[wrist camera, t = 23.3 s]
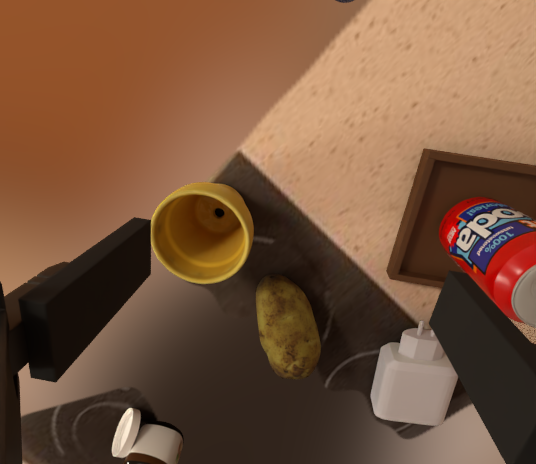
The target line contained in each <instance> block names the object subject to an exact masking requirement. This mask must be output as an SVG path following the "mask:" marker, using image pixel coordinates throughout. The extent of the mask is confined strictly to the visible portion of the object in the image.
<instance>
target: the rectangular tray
mask: <svg viewBox="0 0 536 464" xmlns="http://www.w3.org/2000/svg"><path fill="white" fill-rule="evenodd" d="M474 197H488V198H492V199H495V200H498V201H500V202H502V203H504V204H506V205H508V206H510V207H511V208H513V209H515V210H517V211H519V212H521V213H523V214H525V215H527V216H528V217H530V218H532V219H534V220H536V166H535V165H528V164H522V163H515V162H509V161H502V160H496V159H489V158H483V157H476V156H470V155H463V154H457V153H450V152H444V151H437V150H431V149H424V150H423V153H422V156H421V160H420V163H419V166H418V169H417V173H416V176H415V179H414V182H413V186H412V189H411V192H410V195H409V199H408V202H407V205H406V208H405V212H404V215H403V218H402V221H401V225H400V228H399V231H398V235H397V238H396V241H395V244H394V248H393V251H392V254H391V257H390V261H389V264H388V267H387V270H386V271H387V274H388V276H389V278H390V279H393V280H399V281H405V282H411V283H416V284H422V285H428V286H434V287H440V288H442V287H443V285H444V282H445V280H446V277H447V274H448V272H449V270H450V271H456V272H462V273H465V272H464V271H463V270H462V269H461V268H460V267H459V266H458V265H457V264H456V262H455V261H454V260H453V259H452V258H451V257H450V256H449V255H448V254H447V253H446V251H445V250H444V249H443V247H442V245H441V243H440V240H439V228H440V224H441V222H442V220H443V218H444V216H445V215H446V214H447V212H448V211H449V210H450V209H451V208H452V207H454V206H455V205H457V204H458V203H460V202H462V201H464V200H467V199H470V198H474Z"/></svg>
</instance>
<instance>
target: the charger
mask: <svg viewBox="0 0 536 464" xmlns="http://www.w3.org/2000/svg"><path fill="white" fill-rule="evenodd" d="M423 325H424V321H423V320H420V323H419V327H418V329H417V328H412V329H408V330H405V331H404V332H403V333H402V337H401V341H400V343H394V342H391V343H388V344H386V345H384V346H382V347H381V350H380V354H379V359H378V363H377V368H376V373H375V377H374V382H373V386H372V391H371V400H372V405H373V409H374V413H375V415H376V416H377V417H379V418H382V419H385V420H392V421H400V422H408V423H416V424H424V425H432V426H438V425H441V424H442V423H443V421H444V418H445V415H446V412H447V409H448V406H449V403H450V400H451V397H452V394H453V391H454V388H455V385H456V382H457V379H458V375H457V374H456V372H455V370H454V368H453V366H452V364H451V363H450V361H449V359H448V357H447V355H446V353H445V352H444V350H443V348H442V346H441V344H440V343H439V341H438V339H437V337H436V335H435V333H434V332H433V330H427V329H423Z"/></svg>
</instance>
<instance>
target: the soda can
mask: <svg viewBox="0 0 536 464" xmlns="http://www.w3.org/2000/svg"><path fill="white" fill-rule="evenodd" d="M439 240H440V243H441V245H442V247H443V249H444V250H445V251H446V253H447V254H448V255H449V256H450V257H451V258H452V259H453V260H454V261H455V262H456V264H457V265H458V266H459V267H460V268H461V269H462V270H463V271H464V272H465V273H467V274H468V275H469V276H470V277H471V278H472V279H473V280H474V281H475V282H476V284H477V285H478V286H479V287H480V288H481V289H482V290H483V291H484V292H485V293H486V294H487V296H488V297H489V298H490V299H491V300H492V301H493V302H494V303H495V304H496V305H497V306H498V307H499V309H500V310H501V311H502V312H503V313H504V314H505V315H506V316H507V317H509V318H510V319H512V320H514V321H517V322H520V323H524V324H527V325H529V326H531V327H534V328H536V220H534V219H532V218H530V217H528V216H527V215H525V214H523V213H521V212H519V211H517V210H515V209H513V208H511V207H510V206H508V205H506V204H504V203H502V202H500V201H498V200H495V199H492V198H488V197H474V198H470V199H467V200H464V201H462V202H460V203H458V204H457V205H455V206H454V207H452V208H451V209H450V210H449V211H448V212H447V214H446V215H445V216H444V218H443V220H442V222H441V224H440V228H439Z"/></svg>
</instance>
